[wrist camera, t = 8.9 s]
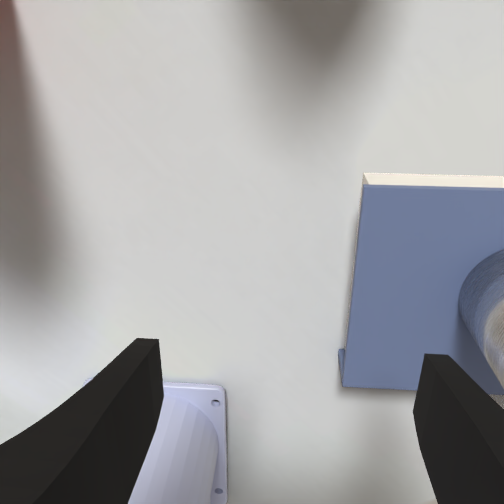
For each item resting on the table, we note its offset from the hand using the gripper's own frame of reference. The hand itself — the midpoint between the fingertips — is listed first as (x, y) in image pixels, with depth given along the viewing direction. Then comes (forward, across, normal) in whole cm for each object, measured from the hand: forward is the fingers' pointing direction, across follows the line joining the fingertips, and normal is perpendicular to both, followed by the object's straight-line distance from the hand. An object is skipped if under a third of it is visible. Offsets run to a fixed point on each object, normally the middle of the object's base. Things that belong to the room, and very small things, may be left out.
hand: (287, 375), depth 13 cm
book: (+11, -10, +2) cm, 15 cm away
